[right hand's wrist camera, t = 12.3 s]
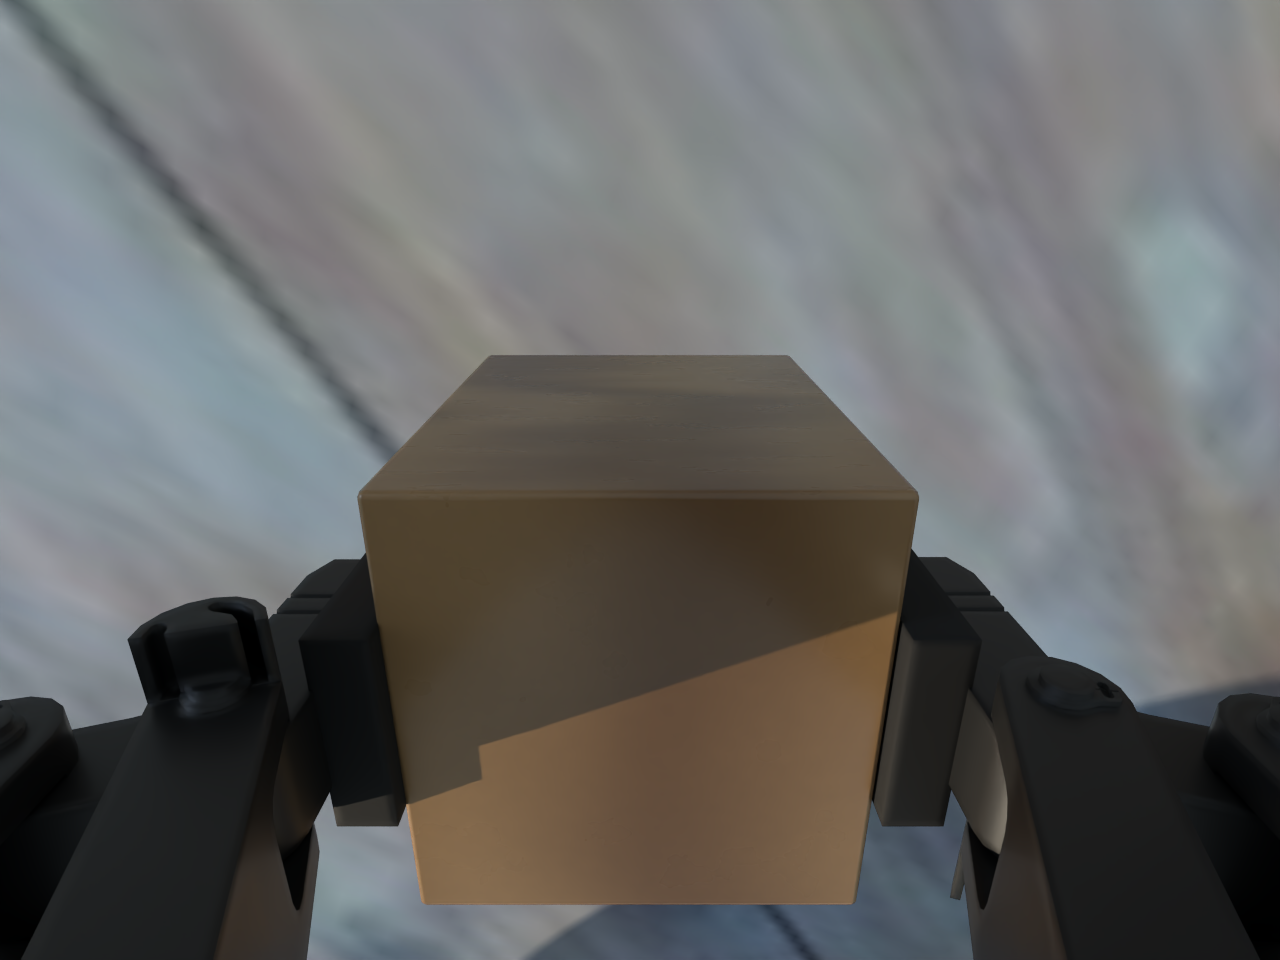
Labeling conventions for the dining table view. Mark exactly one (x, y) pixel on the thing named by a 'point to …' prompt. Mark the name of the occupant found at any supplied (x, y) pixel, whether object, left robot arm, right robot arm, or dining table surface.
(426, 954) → the dining table surface
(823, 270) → the dining table surface
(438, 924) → the dining table surface
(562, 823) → the block
